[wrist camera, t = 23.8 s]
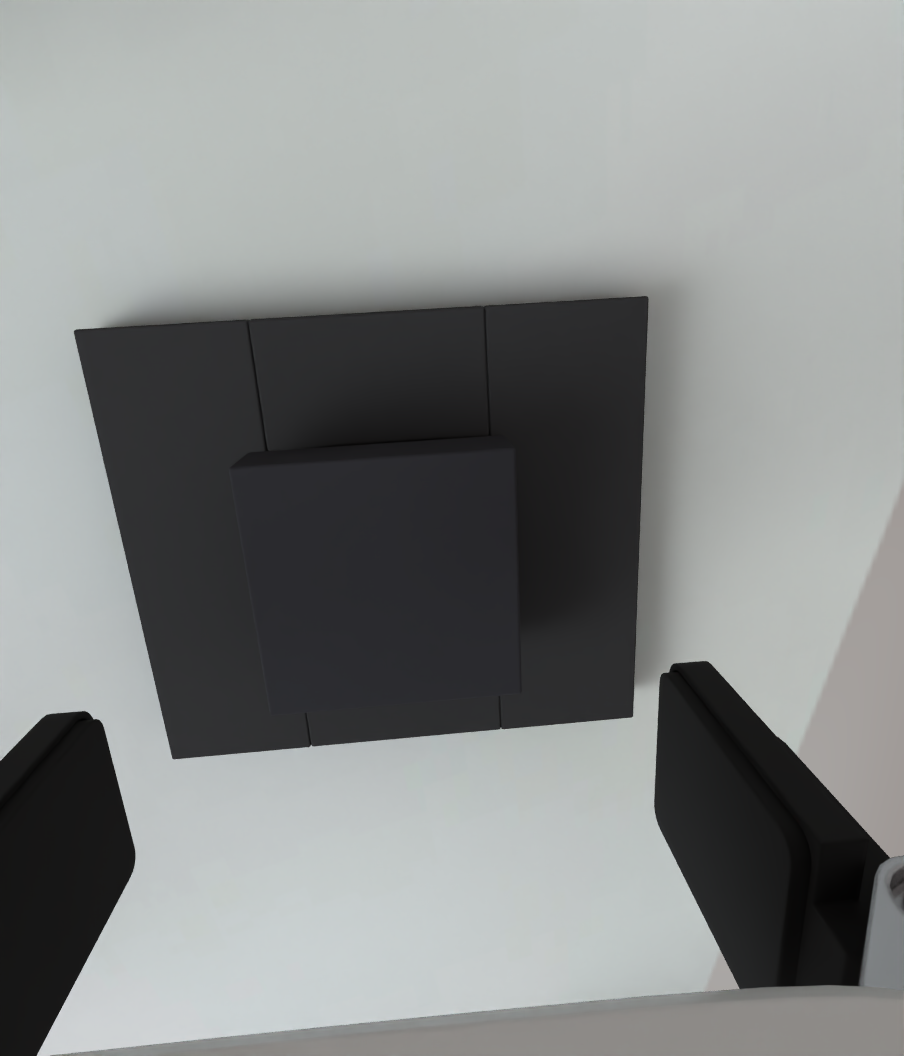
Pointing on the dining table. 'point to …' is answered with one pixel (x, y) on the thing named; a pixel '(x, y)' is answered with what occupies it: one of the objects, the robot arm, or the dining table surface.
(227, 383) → the base pad
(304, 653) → the plug pad
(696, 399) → the dining table surface
